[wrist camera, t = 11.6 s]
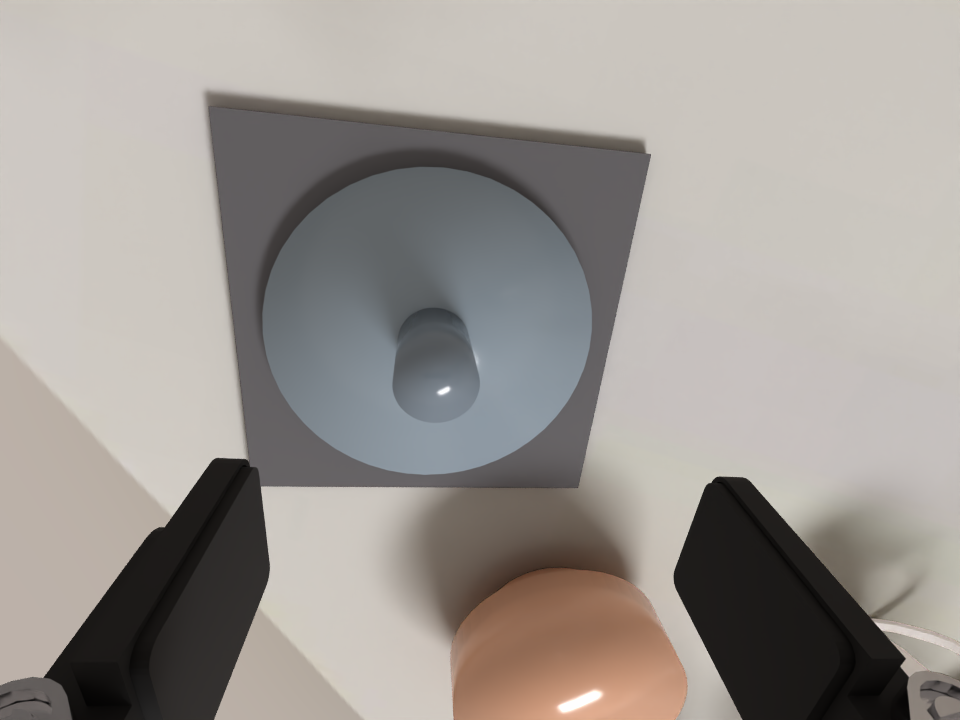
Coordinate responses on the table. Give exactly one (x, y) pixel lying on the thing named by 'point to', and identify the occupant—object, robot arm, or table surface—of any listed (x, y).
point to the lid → (427, 320)
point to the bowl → (565, 653)
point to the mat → (380, 148)
